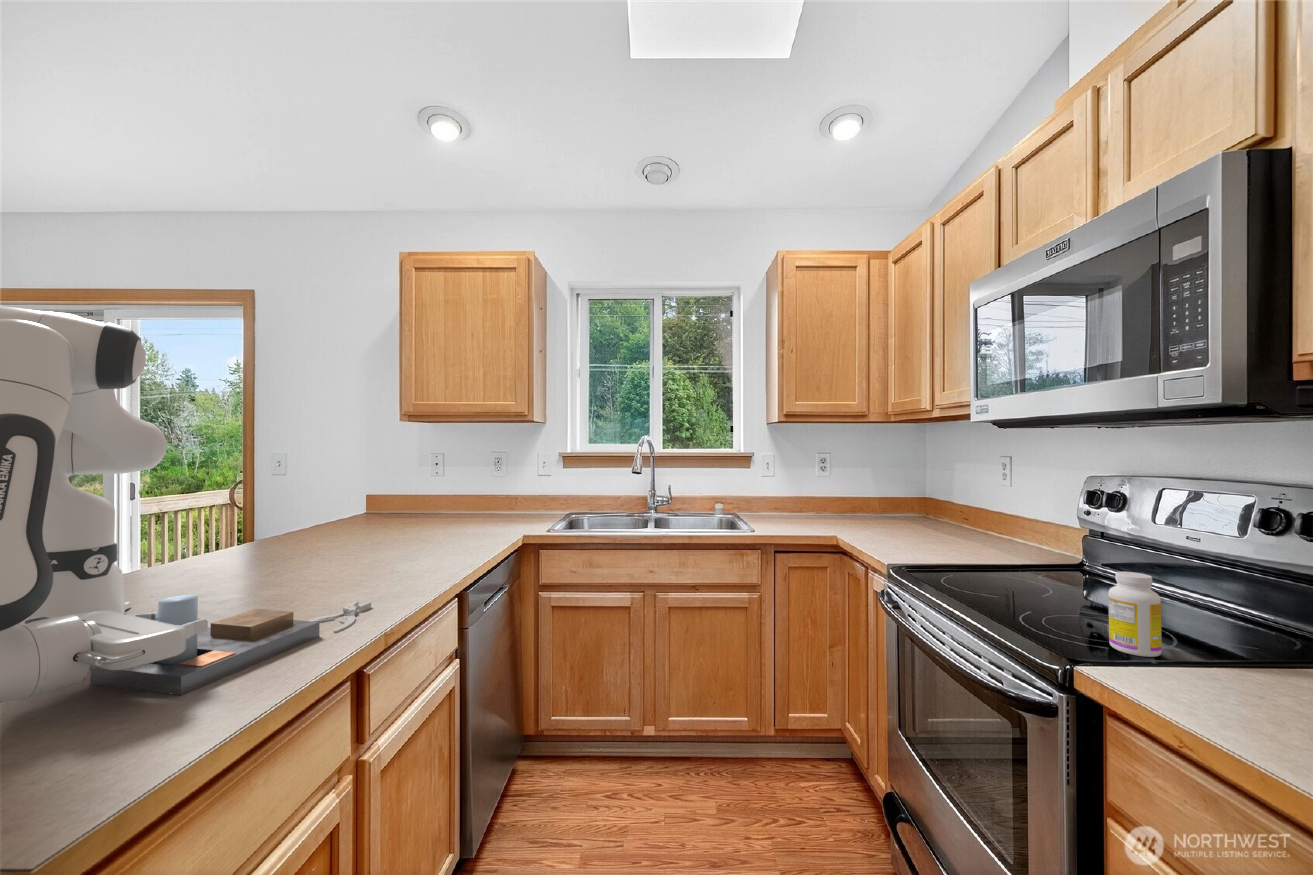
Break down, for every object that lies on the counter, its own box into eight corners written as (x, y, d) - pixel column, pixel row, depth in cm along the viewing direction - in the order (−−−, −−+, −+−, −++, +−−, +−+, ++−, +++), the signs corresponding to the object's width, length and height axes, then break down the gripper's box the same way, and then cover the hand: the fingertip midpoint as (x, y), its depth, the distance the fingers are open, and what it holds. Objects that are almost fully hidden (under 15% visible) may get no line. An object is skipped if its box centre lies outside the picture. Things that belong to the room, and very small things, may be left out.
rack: (90, 684, 76) (90, 652, 76) (245, 629, 98) (245, 604, 98) (180, 695, 73) (181, 661, 73) (319, 636, 95) (319, 610, 95)
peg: (148, 678, 78) (150, 602, 78) (181, 665, 82) (182, 594, 82) (173, 680, 77) (174, 604, 77) (204, 668, 81) (205, 595, 81)
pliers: (286, 624, 98) (341, 600, 113) (286, 632, 98) (341, 608, 113) (337, 626, 97) (386, 602, 112) (337, 634, 97) (386, 609, 112)
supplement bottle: (1151, 647, 92) (1151, 572, 92) (1169, 661, 86) (1168, 581, 86) (1103, 641, 95) (1102, 568, 95) (1116, 654, 89) (1115, 576, 89)
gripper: (101, 639, 64) (229, 607, 77) (17, 618, 71) (146, 591, 84) (100, 692, 64) (228, 651, 77) (15, 665, 71) (146, 632, 84)
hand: (185, 620), depth 80 cm, fingers open, 8 cm apart
